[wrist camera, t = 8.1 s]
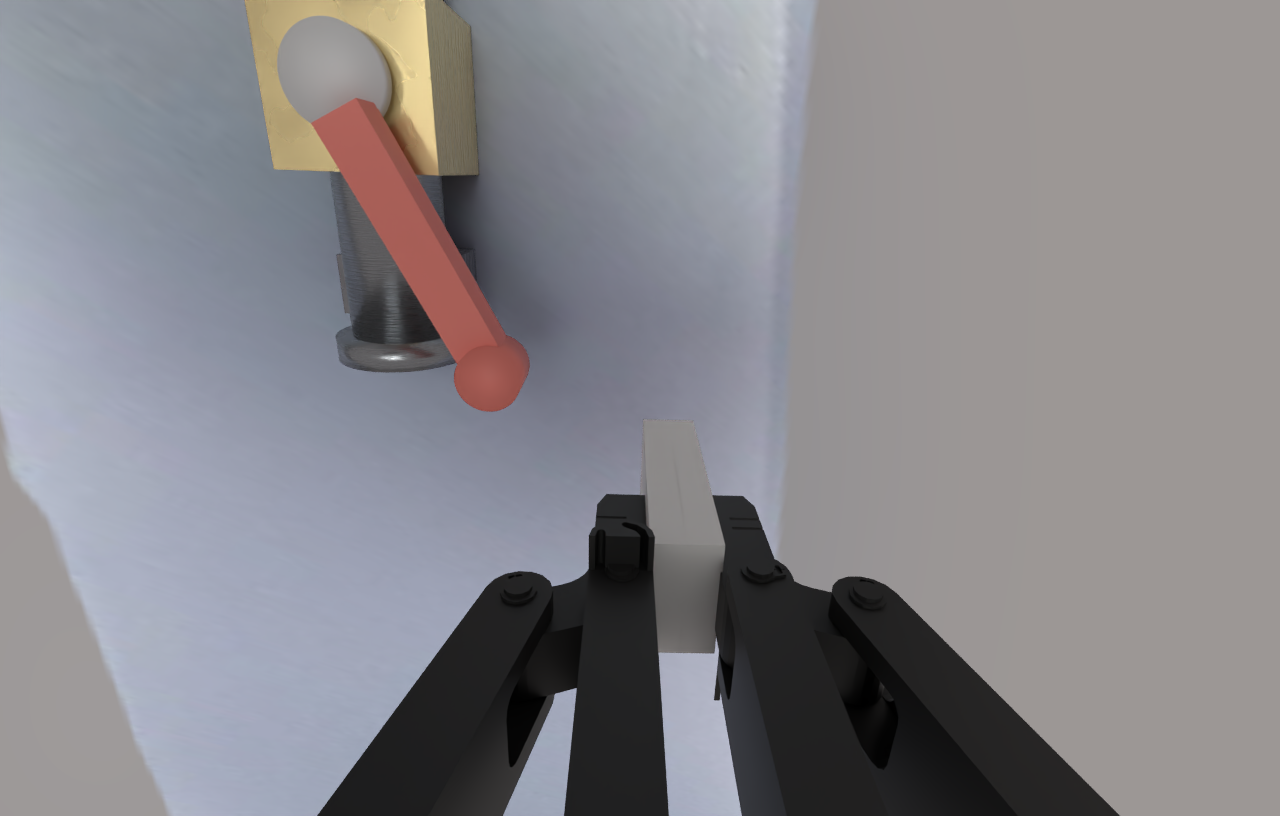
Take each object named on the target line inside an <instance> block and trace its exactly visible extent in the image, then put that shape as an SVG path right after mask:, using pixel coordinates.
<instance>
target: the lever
mask: <svg viewBox="0 0 1280 816" xmlns="http://www.w3.org/2000/svg"><path fill="white" fill-rule="evenodd" d="M277 70H278V76H279V80H280V84H281V87H282V89H283V92H284V94H285V96H286V97H287V99H288V101H289V102H290V104H291V105H292V107H293V108H294V109H295V110H296V111H297V112H298V113H299V114H300V115H301V116H302V117H303V118H304V119H305V120H307V121H308V122H309V123H311V124H312V126H313V127H314V129H315V131H316V132H317V134H318V136H319V137H320V139H321V141H322V142H323V144H324V145H325V147H326V149H327V150H328V152H329V154H330V155H331V157H332V159H333V160H334V162H335V164H336V165H337V167H338V169H339V170H340V172H341V173H342V175H343V177H344V178H345V180H346V182H347V183H348V185H349V187H350V188H351V190H352V192H353V193H354V195H355V197H356V198H357V200H358V202H359V203H360V205H361V206H362V208H363V210H364V211H365V213H366V215H367V216H368V218H369V220H370V221H371V223H372V225H373V226H374V228H375V230H376V231H377V233H378V234H379V236H380V238H381V239H382V241H383V243H384V244H385V246H386V248H387V249H388V251H389V253H390V254H391V256H392V258H393V259H394V261H395V262H396V264H397V266H398V267H399V269H400V271H401V272H402V274H403V276H404V277H405V279H406V281H407V282H408V284H409V286H410V287H411V289H412V290H413V292H414V294H415V295H416V297H417V299H418V300H419V302H420V304H421V305H422V307H423V309H424V310H425V312H426V314H427V315H428V317H429V318H430V320H431V322H432V323H433V325H434V327H435V328H436V330H437V332H438V333H439V335H440V337H441V338H442V340H443V342H444V343H445V345H446V346H447V348H448V350H449V351H450V353H451V355H452V356H453V358H454V360H455V361H456V363H457V366H456V369H455V373H454V383H455V387H456V389H457V392H458V393H459V395H460V396H461V398H462V399H463V400H464V401H465V402H466V403H467V404H469V405H470V406H472V407H474V408H476V409H478V410H482V411H498V410H501V409H504V408H506V407H508V406H509V405H510V404H511V403H512V402H513V401H514V400H515V399H516V397H517V395H518V393H519V391H520V389H521V387H522V385H523V383H524V381H525V379H526V377H527V375H528V372H529V367H530V363H529V357H528V354H527V352H526V350H525V349H524V347H523V346H522V345H521V344H520V343H519V342H518V341H517V340H515V339H514V338H512V337H510V336H507V335H506V334H505V332H504V331H503V329H502V327H501V325H500V323H499V322H498V320H497V318H496V316H495V315H494V313H493V311H492V309H491V308H490V306H489V304H488V302H487V300H486V299H485V297H484V295H483V293H482V292H481V290H480V288H479V286H478V285H477V283H476V281H475V279H474V277H473V276H472V274H471V272H470V270H469V269H468V267H467V265H466V263H465V261H464V260H463V258H462V256H461V254H460V253H459V251H458V249H457V247H456V246H455V244H454V242H453V240H452V238H451V237H450V235H449V233H448V231H447V230H446V228H445V226H444V224H443V222H442V221H441V219H440V217H439V215H438V214H437V212H436V210H435V208H434V207H433V205H432V203H431V201H430V199H429V198H428V196H427V194H426V192H425V191H424V189H423V187H422V185H421V184H420V182H419V180H418V178H417V176H416V175H415V173H414V171H413V169H412V168H411V166H410V164H409V162H408V160H407V159H406V157H405V155H404V153H403V152H402V150H401V148H400V146H399V145H398V143H397V141H396V139H395V137H394V136H393V134H392V132H391V130H390V129H389V127H388V125H387V123H386V122H385V120H384V118H383V117H384V115H385V113H386V112H387V110H388V107H389V105H390V101H391V95H392V80H391V74H390V70H389V67H388V64H387V62H386V60H385V58H384V56H383V54H382V52H381V51H380V49H379V48H378V46H377V45H376V44H375V43H374V42H373V41H372V40H371V39H370V38H369V37H368V36H367V35H366V34H365V33H363V32H362V31H360V30H359V29H357V28H355V27H353V26H351V25H350V24H348V23H346V22H344V21H341V20H339V19H336V18H333V17H329V16H311V17H308V18H304V19H302V20H300V21H298V22H297V23H295V24H294V25H293V26H292V27H291V28H290V29H289V30H288V31H287V33H286V34H285V35H284V37H283V39H282V41H281V44H280V47H279V51H278V57H277Z"/></svg>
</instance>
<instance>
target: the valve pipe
mask: <svg viewBox="0 0 1280 816" xmlns="http://www.w3.org/2000/svg"><path fill="white" fill-rule="evenodd" d="M245 5H246V11H247V17H248V23H249V29H250V34H251V40H252V46H253V52H254V57H255V63H256V69H257V75H258V80H259V86H260V92H261V98H262V104H263V109H264V115H265V121H266V127H267V132H268V138H269V144H270V150H271V155H272V161H273V167H274V169H282V170H308V171H330V177H331V184H332V191H333V198H334V205H335V212H336V219H337V226H338V233H339V240H340V247H341V254H337V261H338V268H339V275H340V282H341V289H342V296H343V303H344V310H345V313H350V318H351V325H352V326H349V327H346V328H344V329H342V330H340V331H339V332H338V333H337V334H336V341H337V348H338V354H339V360H340V362H341V363H342V364H343V365H345V366H347V367H350V368H353V369H358V370H364V371H372V372H410V371H420V370H427V369H433V368H438V367H443V366H446V365H450V364H453V363H456V361H455V360H454V358H453V356H452V355H451V353H450V351H449V350H448V348H447V346H446V345H445V343H444V342H443V340H442V338H441V337H440V335H439V333H438V332H437V330H436V328H435V327H434V325H433V323H432V322H431V320H430V318H429V317H428V315H427V314H426V312H425V310H424V309H423V307H422V305H421V304H420V302H419V300H418V299H417V297H416V295H415V294H414V292H413V290H412V289H411V287H410V286H409V284H408V282H407V281H406V279H405V277H404V276H403V274H402V272H401V271H400V269H399V267H398V266H397V264H396V262H395V261H394V259H393V258H392V256H391V254H390V253H389V251H388V249H387V248H386V246H385V244H384V243H383V241H382V239H381V238H380V236H379V234H378V233H377V231H376V230H375V228H374V226H373V225H372V223H371V221H370V220H369V218H368V216H367V215H366V213H365V211H364V210H363V208H362V206H361V205H360V203H359V202H358V200H357V198H356V197H355V195H354V193H353V192H352V190H351V188H350V187H349V185H348V183H347V182H346V180H345V178H344V177H343V175H342V173H341V172H340V170H339V169H338V167H337V165H336V164H335V162H334V160H333V159H332V157H331V155H330V154H329V152H328V150H327V149H326V147H325V145H324V144H323V142H322V141H321V139H320V137H319V136H318V134H317V132H316V131H315V129H314V127H313V126H312V124H311V123H309V122H308V121H307V120H305V119H304V118H303V117H302V116H301V115H300V114H299V113H298V112H297V111H296V110H295V109H294V108H293V107H292V105H291V104H290V102H289V101H288V99H287V97H286V96H285V94H284V92H283V89H282V87H281V84H280V80H279V76H278V70H277V57H278V51H279V47H280V44H281V41H282V39H283V37H284V35H285V34H286V33H287V31H288V30H289V29H290V28H291V27H292V26H293V25H294V24H295V23H297V22H298V21H300V20H302V19H304V18H308V17H311V16H329V17H333V18H336V19H339V20H341V21H344V22H346V23H348V24H350V25H351V26H353V27H355V28H357V29H359V30H360V31H362V32H363V33H365V34H366V35H367V36H368V37H369V38H370V39H371V40H372V41H373V42H374V43H375V44H376V45H377V46H378V48H379V49H380V51H381V52H382V54H383V56H384V58H385V60H386V62H387V64H388V67H389V70H390V74H391V80H392V95H391V101H390V105H389V107H388V110H387V112H386V113H385V115H384V117H383V118H384V120H385V122H386V123H387V125H388V127H389V129H390V130H391V132H392V134H393V136H394V137H395V139H396V141H397V143H398V145H399V146H400V148H401V150H402V152H403V153H404V155H405V157H406V159H407V160H408V162H409V164H410V166H411V168H412V169H413V171H414V173H415V175H416V176H417V178H418V180H419V182H420V184H421V185H422V187H423V189H424V191H425V192H426V194H427V196H428V198H429V199H430V201H431V203H432V205H433V207H434V208H435V210H436V212H437V214H438V215H439V217H440V219H441V221H442V222H443V224H444V226H445V216H444V203H443V190H442V178H441V176H442V175H479V167H478V149H477V132H476V115H475V97H474V80H473V62H472V45H471V28H470V26H469V25H468V24H467V23H466V22H465V21H464V20H463V19H462V18H461V17H460V16H458V15H457V14H456V13H455V12H454V11H453V10H452V9H451V8H450V7H449V6H448V5H447V4H445V3H444V2H443V1H442V0H245ZM458 251H459V253H460V254H461V256H462V258H463V260H464V261H465V263H466V265H467V267H468V269H469V270H470V272H471V274H472V276H473V277H474V279H475V281H476V266H475V250H474V249H458ZM476 283H477V282H476Z"/></svg>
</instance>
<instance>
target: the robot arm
mask: <svg viewBox="0 0 1280 816" xmlns="http://www.w3.org/2000/svg"><path fill="white" fill-rule="evenodd" d="M716 637H717V642H718V648H719V658H718V667H717V676H716V686H715V696H714V700H720V692H721V697H722V703H723V709H724V715H725V720H726V726H727V732H728V738H729V744H730V749H731V755H732V761H733V767H734V773H735V778H736V784H737V790H738V796H739V801H740V807H741V813H742V816H1119V814H1118V813H1116V811H1114V809H1113V808H1111V806H1110V805H1109V804H1108V803H1107V802H1106V801H1105V800H1104V799H1103V798H1101V797H1100V796H1099V795H1098V794H1097V793H1096V792H1095V791H1094V790H1093V789H1092V788H1091V787H1090V786H1089V785H1088V784H1087V783H1086V782H1085V781H1084V780H1083V779H1082V778H1081V777H1080V776H1079V775H1078V774H1077V773H1076V772H1075V771H1074V770H1073V769H1072V768H1071V767H1070V766H1069V765H1068V764H1067V763H1066V762H1065V761H1064V760H1063V759H1062V758H1061V757H1060V756H1059V755H1058V754H1057V753H1056V752H1055V751H1054V750H1053V749H1052V748H1051V747H1050V746H1049V745H1048V744H1047V743H1046V742H1045V741H1044V740H1043V739H1042V738H1041V737H1040V736H1039V735H1038V734H1037V733H1036V732H1035V731H1034V730H1033V729H1032V728H1031V727H1030V726H1029V725H1028V724H1027V723H1026V722H1025V721H1024V720H1023V719H1022V718H1021V717H1020V716H1019V715H1018V714H1017V713H1016V712H1015V711H1014V710H1013V709H1012V708H1011V707H1010V706H1009V705H1008V704H1007V703H1006V702H1005V701H1004V700H1003V699H1002V698H1001V697H1000V696H999V695H998V694H997V693H996V692H995V691H994V690H993V689H992V688H991V687H990V686H989V685H988V684H987V683H986V682H985V681H984V680H983V679H982V678H981V677H980V676H979V675H978V674H977V673H976V672H975V671H974V670H973V669H972V668H971V667H970V666H969V665H968V664H967V663H966V662H965V661H964V660H963V659H962V658H961V657H960V656H959V655H958V654H957V653H956V652H955V651H954V650H953V649H952V648H951V647H950V646H949V645H948V644H947V643H946V642H945V641H944V640H943V639H942V638H941V637H940V636H939V635H938V634H937V633H936V632H935V631H934V630H933V629H932V628H931V627H930V626H929V625H928V624H927V623H926V622H925V621H924V620H923V619H922V618H921V617H920V616H919V615H918V614H917V613H916V612H915V611H914V610H913V609H912V608H911V607H910V606H909V605H908V604H907V603H906V602H905V601H904V600H903V599H902V598H901V597H900V596H899V595H898V594H897V593H895V592H894V591H893V590H892V589H890V588H889V587H888V586H886V585H884V584H882V583H880V582H877V581H875V580H873V579H869V578H864V577H846V578H843V579H839V580H838V581H837V582H836V583H835V584H834V585H833V588H832V593H831V592H827V591H823V590H818V589H814V588H810V587H807V586H803V585H801V584H799V583H797V582H794V579H793V577H792V575H791V573H790V571H789V570H788V569H787V567H786V566H784V565H783V564H782V563H780V562H779V561H777V560H775V559H774V557H773V554H772V551H771V549H770V546H769V543H768V541H767V538H766V535H765V533H764V530H763V528H762V525H761V522H760V521H759V517H758V514H757V512H756V509H755V507H754V506H753V505H752V504H751V503H750V502H749V501H748V500H747V499H745V498H744V497H743V496H716V495H712V492H711V488H710V484H709V481H708V477H707V473H706V469H705V465H704V461H703V457H702V454H701V450H700V446H699V442H698V438H697V434H696V430H695V427H694V423H693V421H687V420H652V419H643V438H642V462H641V486H640V495H618V494H606V495H605V496H604V498H603V499H602V500H601V501H600V502H599V503H598V504H597V514H596V524H595V527H594V528H593V529H592V530H591V533H590V535H589V570H588V571H587V572H586V573H585V574H584V575H583V576H582V577H580V578H579V579H577V580H575V581H572V582H570V583H566V584H563V585H558V586H553V587H552V586H551V583H550V581H549V580H547V579H546V578H545V577H544V576H543V575H540V574H537V573H533V572H523V571H518V572H513V573H507V574H505V575H502V576H500V577H498V578H496V579H494V580H493V581H492V582H491V583H490V584H489V585H488V586H487V587H486V588H485V589H484V591H483V592H482V593H481V595H480V596H479V598H478V599H477V600H476V602H475V603H474V604H473V606H472V607H471V608H470V610H469V611H468V612H467V614H466V615H465V616H464V618H463V619H462V621H461V622H460V623H459V625H458V626H457V627H456V629H455V630H454V631H453V633H452V634H451V635H450V637H449V638H448V640H447V641H446V642H445V644H444V645H443V646H442V648H441V649H440V650H439V652H438V653H437V654H436V656H435V657H434V658H433V660H432V661H431V663H430V664H429V665H428V667H427V668H426V669H425V671H424V672H423V673H422V675H421V676H420V677H419V679H418V680H417V681H416V683H415V684H414V686H413V687H412V688H411V690H410V691H409V692H408V694H407V695H406V696H405V698H404V699H403V700H402V702H401V703H400V704H399V706H398V707H397V709H396V710H395V711H394V713H393V714H392V715H391V717H390V718H389V719H388V721H387V722H386V723H385V725H384V726H383V727H382V729H381V730H380V732H379V733H378V734H377V736H376V737H375V738H374V740H373V741H372V742H371V744H370V745H369V746H368V748H367V749H366V750H365V752H364V753H363V755H362V756H361V757H360V759H359V760H358V761H357V763H356V764H355V765H354V767H353V768H352V769H351V771H350V772H349V773H348V775H347V776H346V778H345V779H344V780H343V782H342V783H341V784H340V786H339V787H338V788H337V790H336V791H335V792H334V794H333V795H332V796H331V798H330V799H329V801H328V802H327V803H326V805H325V806H324V807H323V809H322V810H321V811H320V813H319V814H318V815H317V816H503V814H504V812H505V809H506V807H507V805H508V803H509V800H510V798H511V796H512V794H513V791H514V789H515V787H516V785H517V782H518V780H519V778H520V776H521V773H522V771H523V769H524V767H525V764H526V762H527V760H528V758H529V755H530V753H531V751H532V749H533V746H534V744H535V742H536V740H537V737H538V735H539V733H540V731H541V729H542V726H543V724H544V722H545V720H546V717H547V715H548V713H549V711H550V708H551V706H552V704H553V700H554V695H555V693H559V692H563V691H567V690H570V689H574V688H577V692H576V702H575V712H574V722H573V732H572V742H571V752H570V762H569V772H568V782H567V792H566V802H565V812H564V816H669V812H668V796H667V781H666V765H665V749H664V733H663V718H662V702H661V686H660V671H659V655H658V652H662V653H714V651H715V641H716Z"/></svg>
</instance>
